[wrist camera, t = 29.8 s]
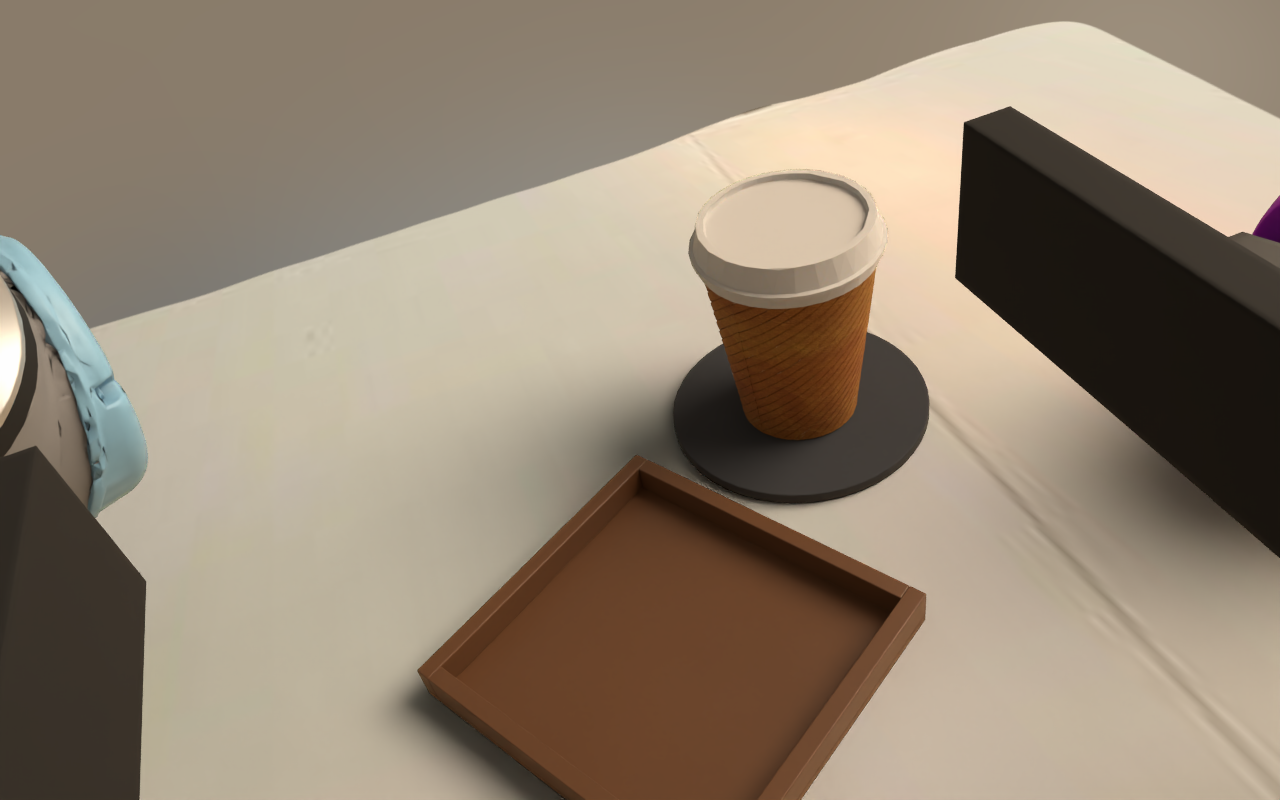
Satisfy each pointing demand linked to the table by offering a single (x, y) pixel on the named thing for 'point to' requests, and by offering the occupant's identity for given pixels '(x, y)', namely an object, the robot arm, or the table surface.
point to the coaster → (810, 466)
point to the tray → (675, 649)
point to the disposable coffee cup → (792, 293)
